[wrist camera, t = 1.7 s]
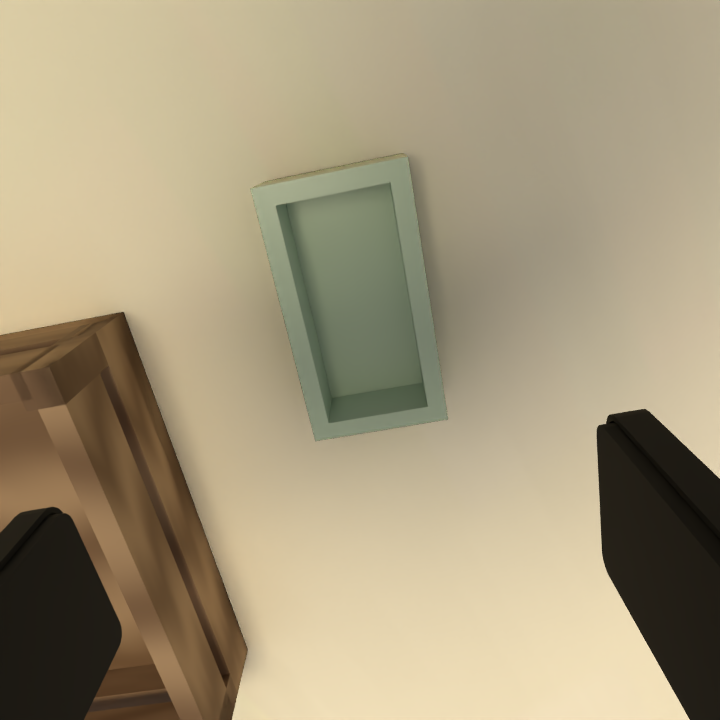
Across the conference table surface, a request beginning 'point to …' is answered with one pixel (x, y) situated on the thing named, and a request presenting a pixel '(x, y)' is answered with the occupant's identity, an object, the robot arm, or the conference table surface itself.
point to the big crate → (120, 514)
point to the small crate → (354, 295)
